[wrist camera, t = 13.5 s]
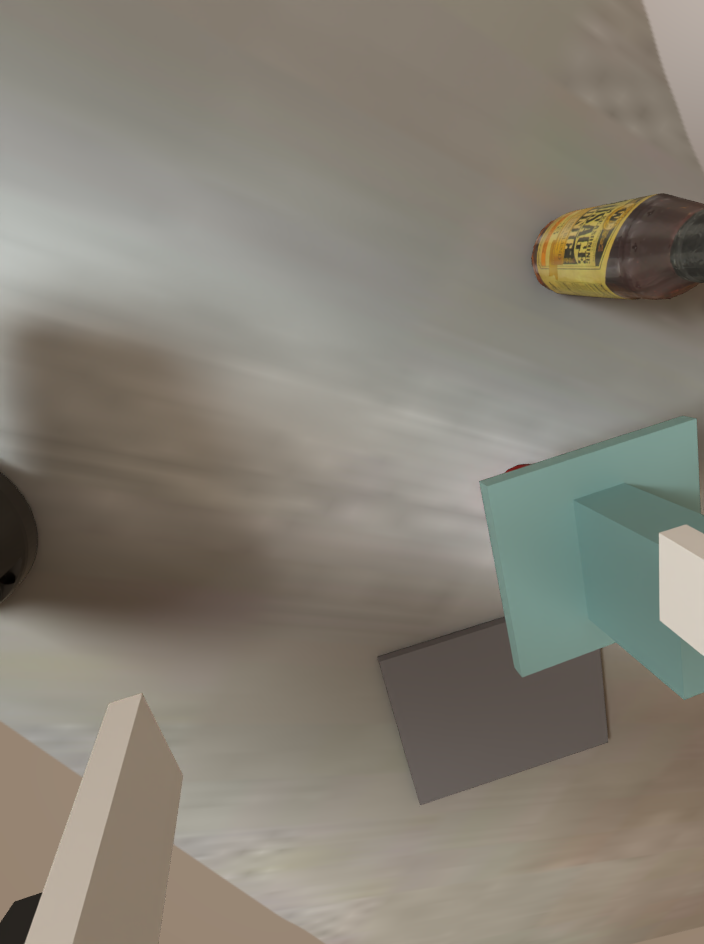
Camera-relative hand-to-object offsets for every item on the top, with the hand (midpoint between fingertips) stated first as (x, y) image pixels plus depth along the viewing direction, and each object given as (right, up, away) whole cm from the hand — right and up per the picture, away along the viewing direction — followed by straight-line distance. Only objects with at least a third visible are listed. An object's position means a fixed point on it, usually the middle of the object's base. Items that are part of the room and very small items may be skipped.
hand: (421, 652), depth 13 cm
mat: (+15, -21, +46) cm, 53 cm away
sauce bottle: (+16, +23, +31) cm, 41 cm away
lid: (+17, -1, +26) cm, 31 cm away
